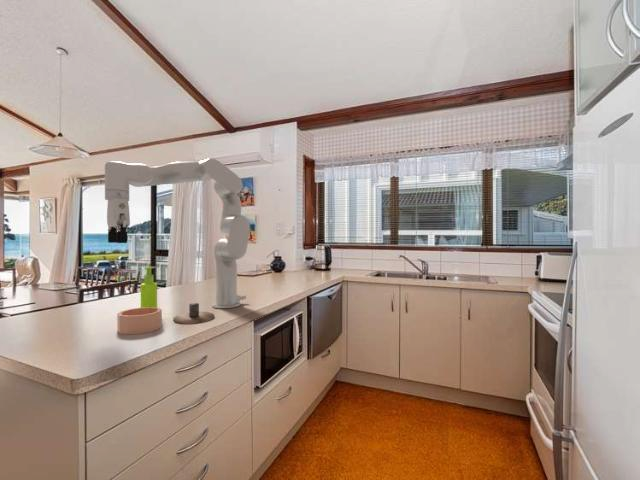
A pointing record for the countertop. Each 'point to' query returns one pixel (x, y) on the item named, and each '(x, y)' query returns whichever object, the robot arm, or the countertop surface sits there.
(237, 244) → the robot arm
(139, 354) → the countertop surface
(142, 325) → the terracotta bowl
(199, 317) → the walnut lid
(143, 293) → the soap dispenser
